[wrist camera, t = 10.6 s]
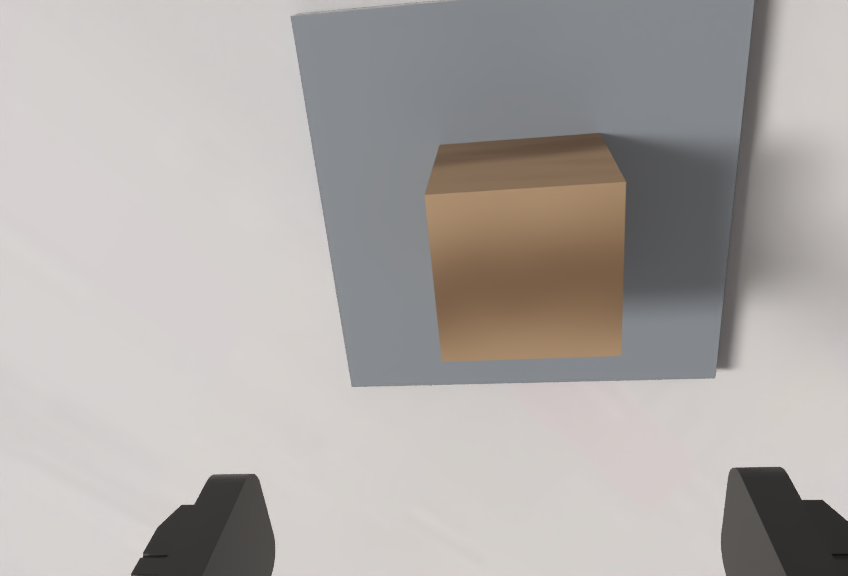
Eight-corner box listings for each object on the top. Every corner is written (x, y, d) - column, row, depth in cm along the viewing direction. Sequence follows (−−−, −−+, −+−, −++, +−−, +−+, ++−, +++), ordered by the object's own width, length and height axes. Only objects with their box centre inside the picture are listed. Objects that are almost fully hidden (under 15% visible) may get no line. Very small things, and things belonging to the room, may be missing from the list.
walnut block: (439, 144, 27) (424, 194, 21) (599, 133, 26) (625, 181, 21) (452, 285, 29) (441, 361, 24) (598, 278, 28) (621, 355, 23)
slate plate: (297, 13, 26) (290, 16, 25) (747, -30, 24) (757, -28, 23) (355, 374, 33) (351, 386, 32) (708, 365, 31) (715, 378, 30)
